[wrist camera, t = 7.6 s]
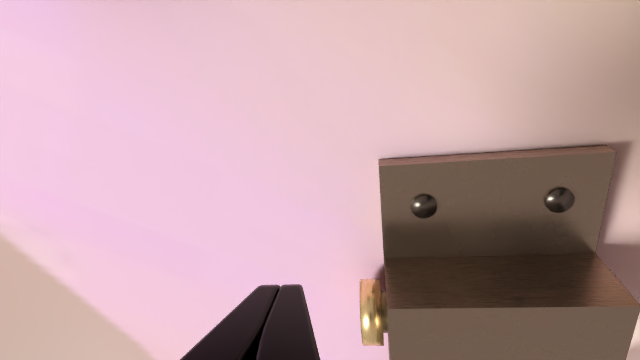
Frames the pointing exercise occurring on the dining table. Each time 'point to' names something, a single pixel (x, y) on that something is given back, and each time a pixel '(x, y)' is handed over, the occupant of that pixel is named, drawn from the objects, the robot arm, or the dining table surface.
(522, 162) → the hinge
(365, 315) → the pin
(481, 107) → the dining table surface
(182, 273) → the dining table surface
